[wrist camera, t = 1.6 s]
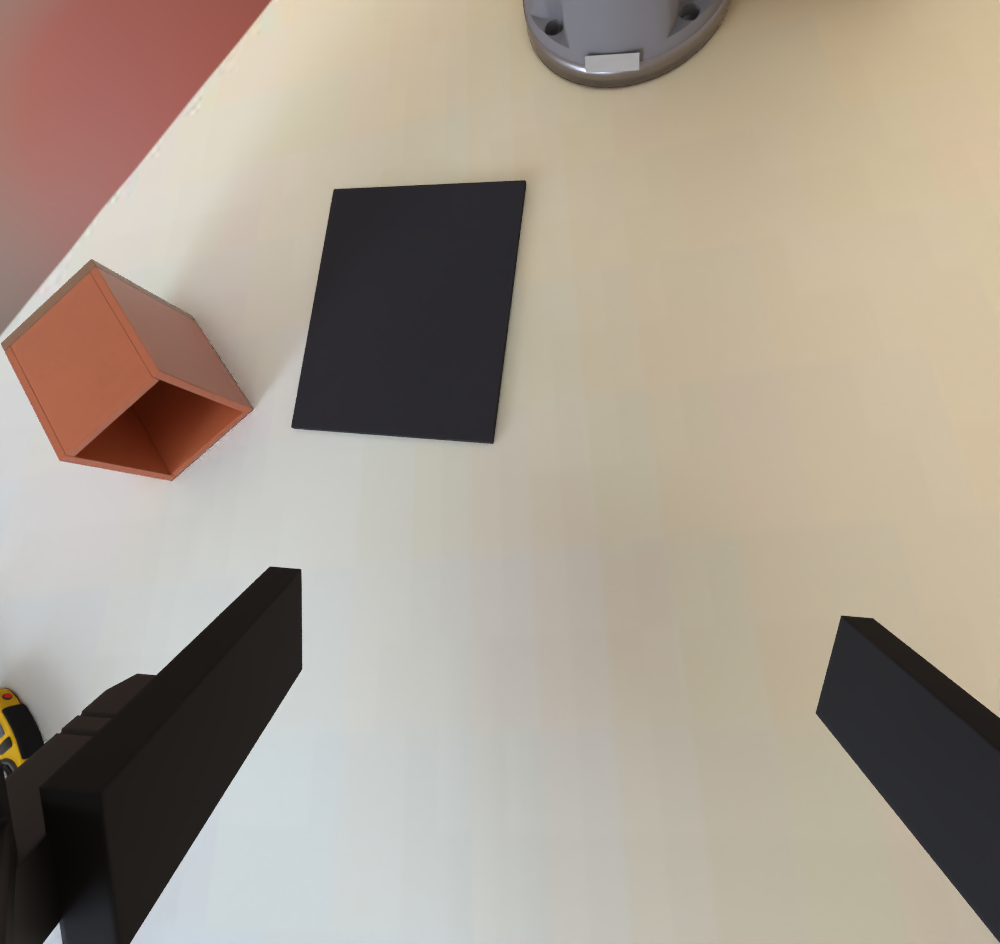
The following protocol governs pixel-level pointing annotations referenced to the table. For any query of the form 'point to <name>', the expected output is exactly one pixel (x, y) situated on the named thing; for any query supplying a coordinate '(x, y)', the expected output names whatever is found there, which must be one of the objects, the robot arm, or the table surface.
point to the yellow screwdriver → (16, 733)
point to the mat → (412, 311)
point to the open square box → (123, 377)
